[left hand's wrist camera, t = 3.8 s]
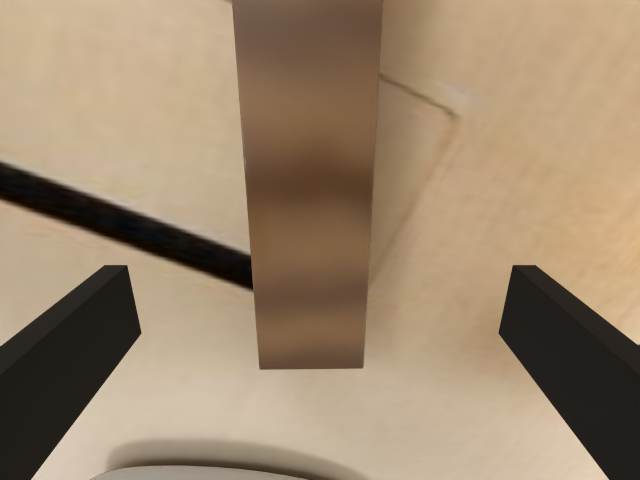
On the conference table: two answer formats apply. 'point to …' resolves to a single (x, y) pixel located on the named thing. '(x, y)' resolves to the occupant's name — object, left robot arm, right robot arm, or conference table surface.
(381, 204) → the conference table surface
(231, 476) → the projector
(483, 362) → the conference table surface
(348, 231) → the beam
